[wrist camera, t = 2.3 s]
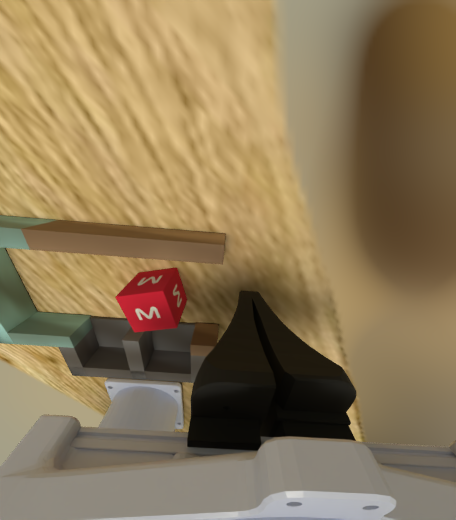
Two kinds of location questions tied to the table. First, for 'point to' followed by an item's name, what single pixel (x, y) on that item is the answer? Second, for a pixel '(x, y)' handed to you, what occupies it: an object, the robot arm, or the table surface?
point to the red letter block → (153, 300)
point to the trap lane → (102, 328)
